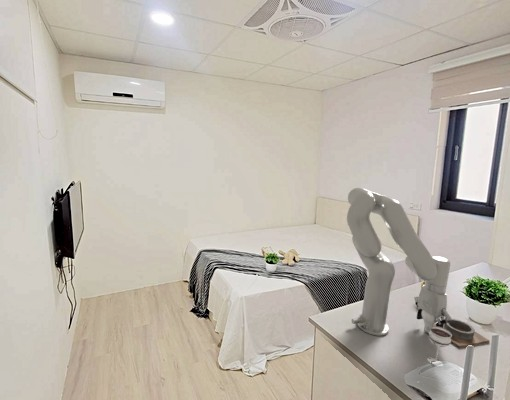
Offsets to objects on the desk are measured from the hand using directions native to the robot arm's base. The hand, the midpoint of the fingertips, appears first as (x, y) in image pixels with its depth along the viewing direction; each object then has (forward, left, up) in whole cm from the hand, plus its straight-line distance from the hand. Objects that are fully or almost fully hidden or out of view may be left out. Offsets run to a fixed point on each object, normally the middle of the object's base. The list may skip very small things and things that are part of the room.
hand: (428, 325), depth 122 cm
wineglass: (-12, -15, -4) cm, 20 cm away
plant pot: (+22, +19, -4) cm, 29 cm away
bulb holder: (+12, -4, -3) cm, 13 cm away
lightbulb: (0, 0, -4) cm, 4 cm away
